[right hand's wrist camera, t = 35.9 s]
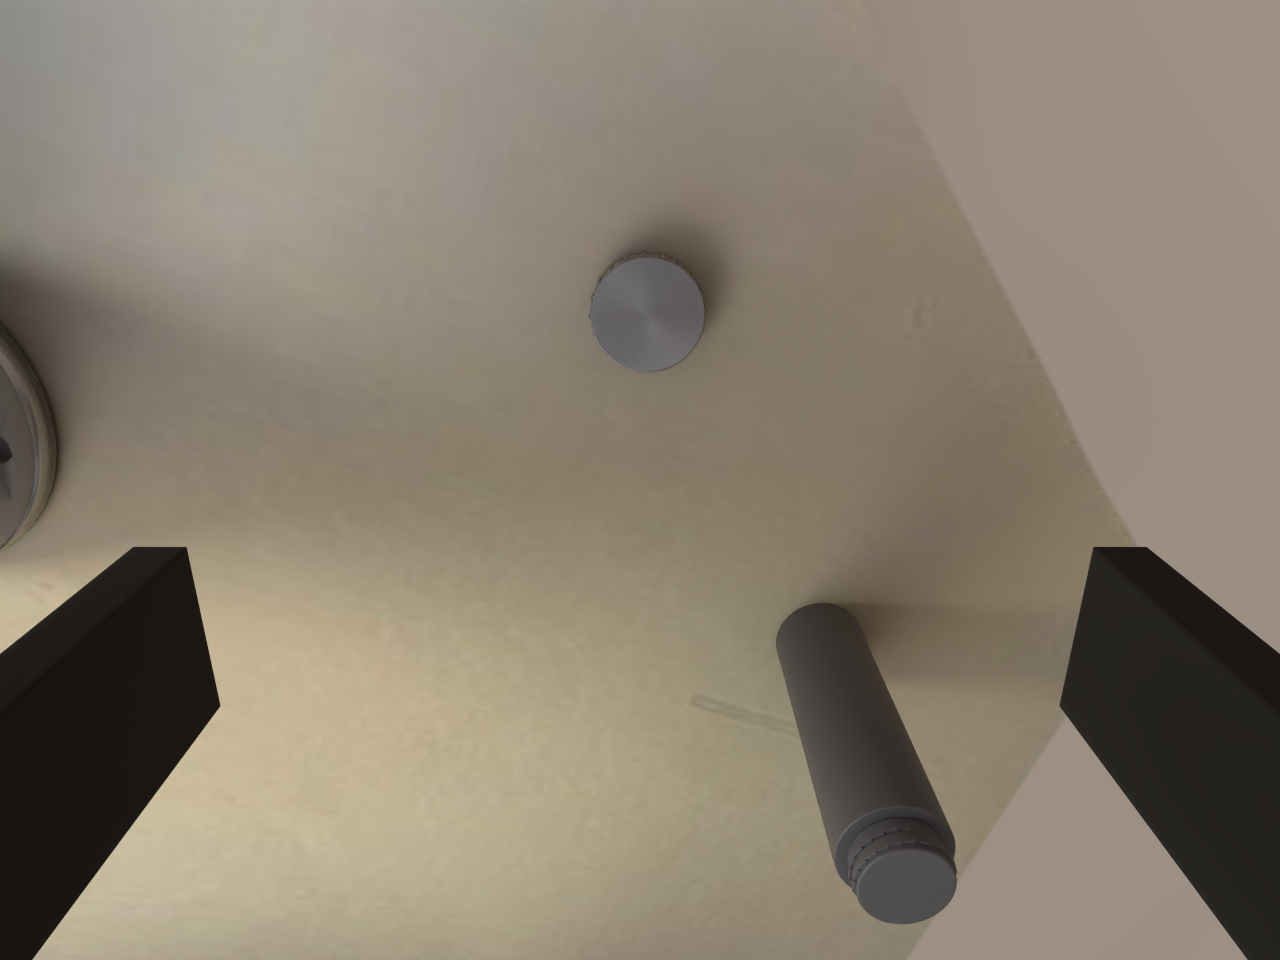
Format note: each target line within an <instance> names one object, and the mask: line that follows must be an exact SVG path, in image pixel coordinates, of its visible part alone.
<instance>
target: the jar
mask: <svg viewBox="0 0 1280 960" xmlns="http://www.w3.org/2000/svg"><path fill="white" fill-rule="evenodd" d="M776 647H777V652H778V656H779V660H780V663H781V667H782V671H783V674H784V678H785V682H786V686H787V689H788V693H789V697H790V701H791V704H792V708H793V712H794V715H795V719H796V723H797V727H798V730H799V734H800V738H801V741H802V745H803V749H804V753H805V756H806V760H807V764H808V767H809V771H810V775H811V779H812V782H813V786H814V790H815V794H816V797H817V801H818V805H819V808H820V812H821V816H822V820H823V823H824V827H825V831H826V834H827V838H828V842H829V846H830V849H831V853H832V857H833V861H834V864H835V868H836V870H837V872H838V874H839V876H840V877H841V879H842V880H843V881H844V882H845V883H846V884H847V885H848V886H849V887H850V888H852V891H853V892H854V893H855V894H856V896H857V898H858V901H859V903H860V904H861V906H862V907H863V909H864V910H865V911H866V912H867V913H868V914H870V915H871V916H873V917H874V918H876V919H878V920H881V921H883V922H887V923H892V924H911V923H916V922H920V921H923V920H926V919H928V918H930V917H932V916H934V915H936V914H937V913H939V912H940V911H941V910H943V909H944V908H945V907H946V906H947V905H948V903H949V902H950V901H951V899H952V897H953V896H954V893H955V890H956V883H957V879H956V873H957V870H956V866H955V862H954V860H953V859H954V854H955V839H954V836H953V833H952V831H951V828H950V826H949V824H948V822H947V820H946V817H945V815H944V813H943V811H942V809H941V806H940V804H939V802H938V800H937V797H936V795H935V793H934V791H933V789H932V786H931V784H930V782H929V780H928V778H927V775H926V773H925V771H924V769H923V766H922V764H921V762H920V760H919V758H918V755H917V753H916V751H915V749H914V746H913V744H912V742H911V740H910V738H909V735H908V733H907V731H906V729H905V727H904V724H903V722H902V720H901V718H900V715H899V713H898V711H897V709H896V707H895V704H894V702H893V700H892V698H891V696H890V693H889V691H888V689H887V687H886V684H885V682H884V680H883V678H882V676H881V673H880V671H879V669H878V667H877V665H876V662H875V660H874V658H873V656H872V653H871V651H870V649H869V647H868V645H867V642H866V640H865V638H864V636H863V633H862V631H861V629H860V627H859V625H858V623H857V621H856V620H855V618H854V617H853V616H852V615H851V614H850V613H848V612H847V611H846V610H844V609H842V608H840V607H837V606H834V605H829V604H815V605H810V606H806V607H803V608H801V609H799V610H797V611H796V612H794V613H793V614H791V615H790V616H789V617H788V618H787V619H786V620H785V621H784V623H783V624H782V626H781V627H780V629H779V632H778V635H777V640H776Z"/></svg>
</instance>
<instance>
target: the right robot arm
mask: <svg viewBox="0 0 1280 960" xmlns="http://www.w3.org/2000/svg"><path fill="white" fill-rule="evenodd" d="M56 458H57V447H56V435H55V429H54V424H53V419H52V415H51V412H50V408H49V405H48V401H47V399H46V396H45V394H44V391H43V389H42V386H41V384H40V382H39V380H38V378H37V376H36V374H35V372H34V370H33V368H32V367H31V365H30V364H29V362H28V360H27V359H26V357H25V355H24V354H23V352H22V351H21V350H20V348H19V347H18V345H17V344H16V343H15V341H14V340H13V339H12V337H11V336H10V335H9V334H8V333H7V331H6V330H5V329H4V328H3V327H2V326H1V324H0V551H2V550H3V549H5V548H6V547H8V546H9V545H11V544H12V543H14V542H15V541H16V540H17V539H19V538H20V537H21V536H22V535H23V534H24V533H25V532H26V531H27V530H28V529H29V528H30V527H31V526H32V525H33V523H34V522H35V521H36V519H37V518H38V517H39V515H40V514H41V512H42V510H43V508H44V506H45V505H46V502H47V500H48V497H49V495H50V492H51V489H52V485H53V481H54V477H55V470H56ZM219 707H220V702H219V697H218V692H217V688H216V683H215V678H214V674H213V669H212V664H211V660H210V655H209V650H208V646H207V641H206V636H205V632H204V627H203V622H202V618H201V613H200V608H199V604H198V599H197V594H196V590H195V585H194V580H193V576H192V571H191V566H190V562H189V557H188V552H187V548H186V547H133V548H132V549H130V550H129V551H128V552H127V553H125V554H124V555H123V556H122V557H120V558H119V559H118V560H117V561H115V562H114V563H113V564H112V565H110V566H109V567H108V568H107V569H105V570H104V571H103V572H102V573H100V574H99V575H98V576H97V577H96V578H94V579H93V580H92V581H91V582H89V583H88V584H87V585H86V586H84V587H83V588H82V589H81V590H79V591H78V592H77V593H76V594H74V595H73V596H72V597H71V598H69V599H68V600H67V601H66V602H64V603H63V604H62V605H61V606H59V607H58V608H57V609H56V610H54V611H53V612H52V613H51V614H49V615H48V616H47V617H46V618H44V619H43V620H42V621H41V622H39V623H38V624H37V625H36V626H34V627H33V628H32V629H31V630H29V631H28V632H27V633H26V634H25V635H23V636H22V637H21V638H20V639H18V640H17V641H16V642H15V643H13V644H12V645H11V646H10V647H8V648H7V649H6V650H5V651H3V652H2V653H1V654H0V960H32V959H33V958H34V957H35V955H36V954H37V953H38V951H39V950H40V949H41V947H42V946H43V945H44V943H45V942H46V940H47V939H48V938H49V936H50V935H51V934H52V932H53V931H54V930H55V928H56V927H57V926H58V924H59V923H60V922H61V920H62V919H63V918H64V916H65V915H66V914H67V912H68V911H69V909H70V908H71V907H72V905H73V904H74V903H75V901H76V900H77V899H78V897H79V896H80V895H81V893H82V892H83V891H84V889H85V888H86V887H87V885H88V884H89V882H90V881H91V880H92V878H93V877H94V876H95V874H96V873H97V872H98V870H99V869H100V868H101V866H102V865H103V864H104V862H105V861H106V860H107V858H108V857H109V856H110V854H111V853H112V851H113V850H114V849H115V847H116V846H117V845H118V843H119V842H120V841H121V839H122V838H123V837H124V835H125V834H126V833H127V831H128V830H129V829H130V827H131V826H132V825H133V823H134V822H135V820H136V819H137V818H138V816H139V815H140V814H141V812H142V811H143V810H144V808H145V807H146V806H147V804H148V803H149V802H150V800H151V799H152V798H153V796H154V795H155V794H156V792H157V791H158V789H159V788H160V787H161V785H162V784H163V783H164V781H165V780H166V779H167V777H168V776H169V775H170V773H171V772H172V771H173V769H174V768H175V767H176V765H177V764H178V763H179V761H180V760H181V758H182V757H183V756H184V754H185V753H186V752H187V750H188V749H189V748H190V746H191V745H192V744H193V742H194V741H195V740H196V738H197V737H198V736H199V734H200V733H201V732H202V730H203V729H204V727H205V726H206V725H207V723H208V722H209V721H210V719H211V718H212V717H213V715H214V714H215V713H216V711H217V710H218V709H219ZM1060 707H1061V709H1062V710H1063V711H1064V713H1065V714H1066V715H1067V717H1068V718H1069V719H1070V721H1071V722H1072V723H1073V725H1074V726H1075V727H1076V729H1077V730H1078V732H1079V733H1080V734H1081V736H1082V737H1083V738H1084V740H1085V741H1086V742H1087V744H1088V745H1089V746H1090V748H1091V749H1092V750H1093V752H1094V753H1095V754H1096V756H1097V757H1098V758H1099V760H1100V761H1101V763H1102V764H1103V765H1104V767H1105V768H1106V769H1107V771H1108V772H1109V773H1110V775H1111V776H1112V777H1113V779H1114V780H1115V781H1116V783H1117V784H1118V785H1119V787H1120V788H1121V789H1122V791H1123V792H1124V794H1125V795H1126V796H1127V798H1128V799H1129V800H1130V802H1131V803H1132V804H1133V806H1134V807H1135V808H1136V810H1137V811H1138V812H1139V814H1140V815H1141V816H1142V818H1143V819H1144V820H1145V822H1146V823H1147V825H1148V826H1149V827H1150V829H1151V830H1152V831H1153V833H1154V834H1155V835H1156V837H1157V838H1158V839H1159V841H1160V842H1161V843H1162V845H1163V846H1164V847H1165V849H1166V850H1167V851H1168V853H1169V854H1170V856H1171V857H1172V858H1173V859H1174V861H1175V862H1176V864H1177V865H1178V866H1179V868H1180V869H1181V870H1182V872H1183V873H1184V874H1185V876H1186V877H1187V878H1188V880H1189V881H1190V882H1191V884H1192V885H1193V887H1194V888H1195V889H1196V891H1197V892H1198V893H1199V895H1200V896H1201V897H1202V899H1203V900H1204V901H1205V903H1206V904H1207V905H1208V907H1209V908H1210V909H1211V911H1212V912H1213V913H1214V915H1215V916H1216V918H1217V919H1218V920H1219V921H1220V923H1221V924H1222V926H1223V927H1224V928H1225V930H1226V931H1227V932H1228V934H1229V935H1230V936H1231V938H1232V939H1233V940H1234V942H1235V943H1236V944H1237V946H1238V947H1239V949H1240V950H1241V951H1242V953H1243V954H1244V955H1245V957H1246V958H1247V959H1248V960H1280V654H1279V653H1278V652H1277V651H1275V650H1274V649H1273V648H1272V647H1270V646H1269V645H1268V644H1267V643H1265V642H1264V641H1263V640H1262V639H1260V638H1259V637H1258V636H1257V635H1255V634H1254V633H1253V632H1252V631H1250V630H1249V629H1248V628H1247V627H1245V626H1244V625H1243V624H1242V623H1241V622H1239V621H1238V620H1237V619H1236V618H1234V617H1233V616H1232V615H1231V614H1229V613H1228V612H1227V611H1226V610H1224V609H1223V608H1222V607H1221V606H1219V605H1218V604H1217V603H1216V602H1214V601H1213V600H1212V599H1211V598H1209V597H1208V596H1207V595H1206V594H1204V593H1203V592H1202V591H1201V590H1199V589H1198V588H1197V587H1196V586H1194V585H1193V584H1192V583H1191V582H1189V581H1188V580H1187V579H1186V578H1184V577H1183V576H1182V575H1181V574H1180V573H1178V572H1177V571H1176V570H1174V569H1173V568H1172V567H1171V566H1170V565H1168V564H1167V563H1166V562H1165V561H1163V560H1162V559H1161V558H1160V557H1158V556H1157V555H1156V554H1155V553H1153V552H1152V551H1151V550H1150V549H1148V548H1147V547H1093V552H1092V557H1091V562H1090V566H1089V571H1088V576H1087V580H1086V585H1085V590H1084V594H1083V599H1082V604H1081V608H1080V613H1079V618H1078V622H1077V627H1076V632H1075V636H1074V641H1073V646H1072V650H1071V655H1070V660H1069V664H1068V669H1067V674H1066V678H1065V683H1064V688H1063V692H1062V697H1061V702H1060Z"/></svg>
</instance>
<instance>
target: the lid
mask: <svg viewBox="0 0 1280 960" xmlns="http://www.w3.org/2000/svg"><path fill="white" fill-rule="evenodd" d="M694 278H695V277H694V275H693V273H692V272H689V271H688V270H687V269H686V268H685V267H684V266H683V265H682V264H681V262H680V260H677V261H676V260H674V259H672V258H671V257H668V256H665V255H664V253H662V252H661V254H658V253H650V252H647V253H646V251H643V253H637V254H633V255H630V256H628V254H627V255H625V258H623V259H621V260H619V261H617V262H616V263H614V264H612V263H611V264H610V267H609V269H608V270H607V271H606V272H605V273H604V274H603V276H602V277H599V278H598V282H597V283H598V285H597V287H596V290H595V292H594V293H592V296H591V299H590V300H591V301H592V303H591V311H590V314H589V319H591V326H592V331H593V336H594V337H595V339H596V341H597V343H598V344H599V346H600V347H601V349H602V351H604V353H605V354H606V355H607V356H608V357H609V358H611V359H612V360H613V361H614V362H616V363H617V364H619V365H621V366H623V367H625V368H628V369H631V370H634V371H639V372H655V371H661V370H664V369H668V368H670V367H672V366H674V365H676V364H678V363H679V362H681V361H682V360H683V359H684V358H686V357H687V356H688V355H689V354H690V353H691V352H692V350H693V349H694V348H695V347H696V345H697V343H698V341H699V339H700V337H701V334H702V331H703V330H704V322H705V312H706V308H705V306H704V301H703V298H702V294H703V292H702V289H701V287H700V288H699V287H698V285H697V283H696V281H695V279H694Z"/></svg>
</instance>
